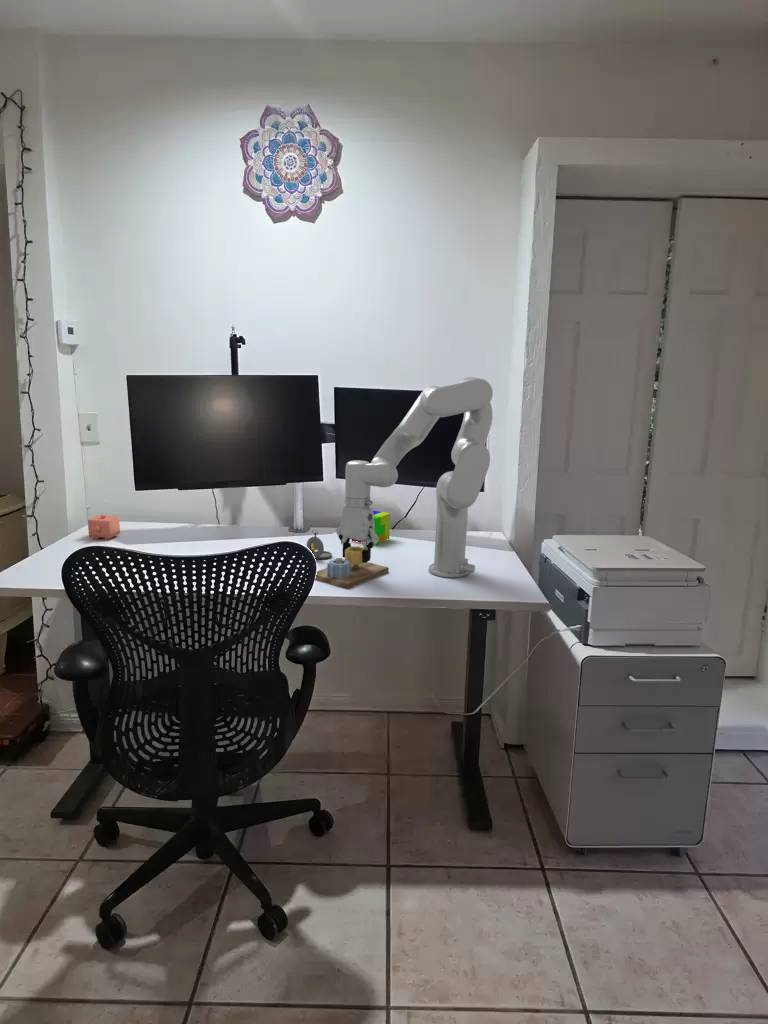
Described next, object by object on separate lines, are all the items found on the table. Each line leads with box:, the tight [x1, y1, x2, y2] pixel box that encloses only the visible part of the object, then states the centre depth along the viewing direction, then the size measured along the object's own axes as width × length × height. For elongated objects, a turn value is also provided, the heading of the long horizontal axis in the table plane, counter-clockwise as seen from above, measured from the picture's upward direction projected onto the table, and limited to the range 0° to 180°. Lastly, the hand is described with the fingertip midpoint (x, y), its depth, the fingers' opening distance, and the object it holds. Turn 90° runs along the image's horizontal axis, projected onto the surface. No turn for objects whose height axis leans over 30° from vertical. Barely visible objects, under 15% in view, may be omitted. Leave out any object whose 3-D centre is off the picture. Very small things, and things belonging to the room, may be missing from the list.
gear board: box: [315, 557, 390, 590], centre depth 199 cm, size 14×20×6 cm
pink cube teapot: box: [87, 514, 121, 540], centre depth 229 cm, size 8×12×8 cm, turn 174°
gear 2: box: [344, 545, 369, 565], centre depth 200 cm, size 7×7×4 cm
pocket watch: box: [306, 529, 333, 560], centre depth 215 cm, size 8×8×10 cm
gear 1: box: [326, 558, 351, 579], centre depth 194 cm, size 7×7×4 cm
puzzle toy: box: [350, 510, 391, 546], centre depth 237 cm, size 10×10×10 cm
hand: (356, 558), depth 200 cm, fingers closed on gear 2, 7 cm apart
